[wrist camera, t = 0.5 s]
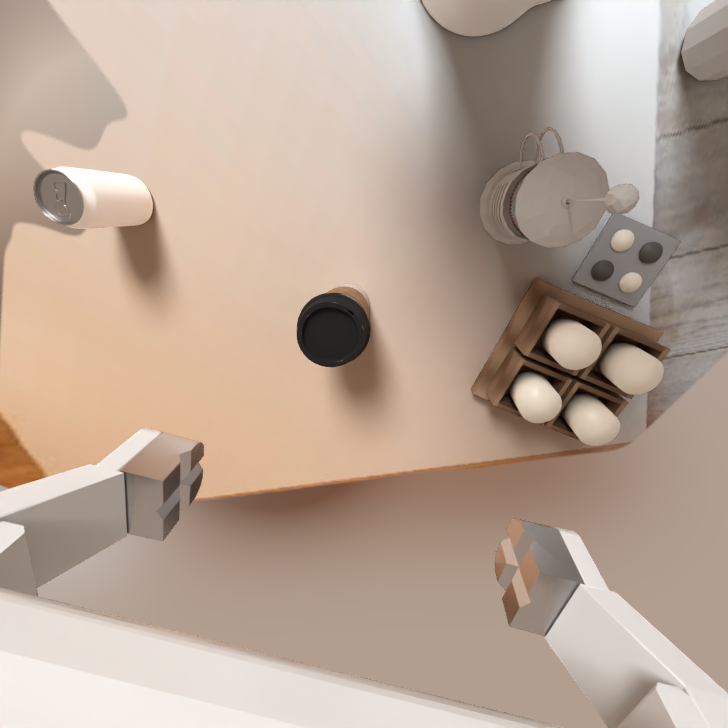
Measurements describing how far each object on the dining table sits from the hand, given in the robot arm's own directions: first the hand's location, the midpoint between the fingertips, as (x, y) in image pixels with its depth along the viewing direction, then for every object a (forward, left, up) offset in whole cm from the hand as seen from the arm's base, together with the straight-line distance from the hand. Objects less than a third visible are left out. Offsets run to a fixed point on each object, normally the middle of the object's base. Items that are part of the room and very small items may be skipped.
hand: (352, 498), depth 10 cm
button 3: (0, +23, -40) cm, 46 cm away
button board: (+4, +27, -45) cm, 53 cm away
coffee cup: (+8, -4, -45) cm, 46 cm away
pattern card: (-11, +27, -45) cm, 54 cm away
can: (+6, -37, -45) cm, 59 cm away
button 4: (0, +31, -40) cm, 51 cm away
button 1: (+8, +23, -40) cm, 47 cm away
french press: (-13, +11, -45) cm, 48 cm away
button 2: (+8, +31, -40) cm, 51 cm away
